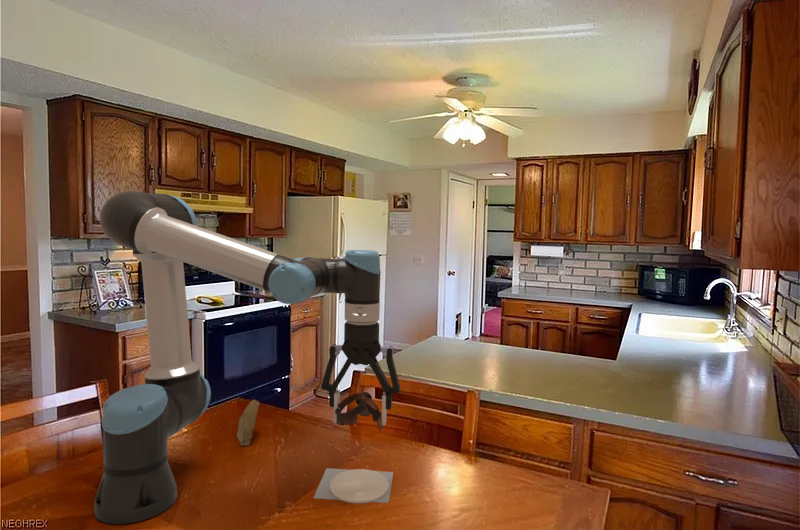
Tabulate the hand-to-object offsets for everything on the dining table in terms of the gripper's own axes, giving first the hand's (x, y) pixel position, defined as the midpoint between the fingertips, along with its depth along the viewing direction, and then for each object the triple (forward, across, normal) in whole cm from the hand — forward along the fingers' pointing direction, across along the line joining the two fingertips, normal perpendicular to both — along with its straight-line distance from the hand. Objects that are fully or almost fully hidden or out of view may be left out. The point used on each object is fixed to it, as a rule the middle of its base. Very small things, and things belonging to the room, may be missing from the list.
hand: (360, 422), depth 108 cm
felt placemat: (+16, -1, +1) cm, 16 cm away
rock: (+16, -35, +23) cm, 45 cm away
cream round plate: (+15, 0, 0) cm, 15 cm away
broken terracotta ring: (+1, 0, 0) cm, 1 cm away
